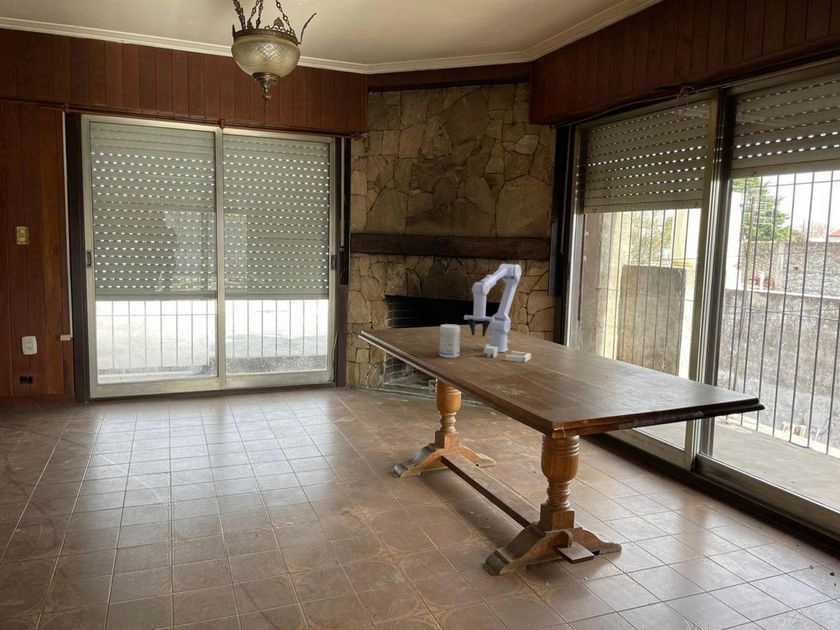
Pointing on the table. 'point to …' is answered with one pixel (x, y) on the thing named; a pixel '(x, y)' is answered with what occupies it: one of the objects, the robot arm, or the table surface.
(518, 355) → the bay
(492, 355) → the white box with knobs
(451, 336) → the supplement tub
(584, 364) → the table surface
